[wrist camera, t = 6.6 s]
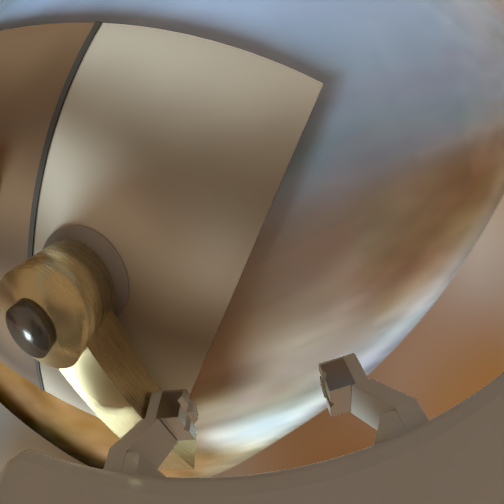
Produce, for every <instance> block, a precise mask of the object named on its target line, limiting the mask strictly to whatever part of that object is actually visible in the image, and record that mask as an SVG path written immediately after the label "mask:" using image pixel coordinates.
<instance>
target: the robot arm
mask: <svg viewBox="0 0 504 504" xmlns="http://www.w3.org/2000/svg"><path fill="white" fill-rule="evenodd" d="M319 372H320V374H321V376H320V382H321V387H322V391H323V394H324V397H325V398H326V400H327V407H328V410H329V413H330V415H331V417H332V416H336V415H339V414H343V413H346V412H350V411H351V412H352V413H353V414H354V415H356V416H357V417H358V418H360V419H361V420H363V421H364V422H366V423H367V424H369V425H370V426H372V427H373V428H375V429H376V430H377V433H376V437H375V441H374V444H373V446H371V447H368V448H365V449H362V450H359V451H356V452H353V453H350V454H347V455H344V456H340V457H337V458H333V459H330V460H326V461H322V462H318V463H314V464H310V465H306V466H301V467H297V468H292V469H286V470H280V471H274V472H268V473H261V474H253V475H244V476H232V477H217V478H171V477H166V476H165V475H164V474H163V473H161V472H160V471H159V470H158V468H159V466H160V465H161V464H162V462H163V461H164V460H165V458H166V457H167V456H168V454H169V453H170V452H171V450H172V449H173V448H174V446H175V445H176V444H177V442H178V441H184V440H195V439H196V430H197V428H196V426H195V425H194V423H195V422H196V421H197V420H198V411H197V407H196V404H195V402H194V401H193V400H192V399H190V398H189V395H190V394H189V393H188V391H187V390H186V389H180V390H164V391H154V392H153V393H152V394H151V398H150V401H149V405H148V408H147V412H146V416H145V419H141V420H140V421H139V422H138V423H137V424H136V425H135V426H134V427H133V428H132V429H130V430H129V431H128V432H127V433H126V434H125V435H124V436H123V437H122V438H121V439H120V440H119V441H117V442H116V443H115V444H114V445H113V446H112V447H111V448H110V449H109V453H108V456H107V459H106V462H105V466H104V469H98V468H93V467H88V466H84V465H79V464H76V463H71V462H68V461H64V460H61V459H58V458H55V457H51V456H48V455H45V454H42V453H39V452H37V451H34V450H31V449H26V450H24V451H23V452H21V453H19V454H18V455H16V456H15V457H13V458H12V459H11V460H9V461H8V462H7V463H6V465H5V466H4V468H3V469H2V471H1V473H0V504H504V372H503V373H502V374H501V375H499V376H498V377H497V378H496V379H494V380H493V381H492V382H490V383H489V384H487V385H486V386H485V387H483V388H482V389H481V390H479V391H478V392H476V393H475V394H473V395H472V396H470V397H469V398H467V399H465V400H464V401H462V402H461V403H459V404H458V405H456V406H454V407H453V408H451V409H449V410H448V411H446V412H444V413H442V414H440V415H439V416H437V417H435V418H433V419H431V420H429V419H428V418H427V416H426V414H425V413H424V411H423V409H422V408H421V406H420V404H419V403H418V401H417V399H415V398H413V397H411V396H409V395H407V394H404V393H402V392H400V391H398V390H396V389H393V388H391V387H389V386H387V385H385V384H382V383H380V382H378V381H376V380H374V379H372V378H371V379H368V378H367V376H366V374H365V372H364V370H363V368H362V366H361V364H360V362H359V361H358V359H357V357H356V355H355V354H354V353H352V354H349V355H346V356H343V357H339V358H336V359H333V360H330V361H326V362H323V363H319Z"/></svg>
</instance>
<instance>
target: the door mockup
mask: <svg viewBox="0 0 504 504" xmlns="http://www.w3.org/2000/svg"><path fill="white" fill-rule="evenodd" d="M323 84H324V83H322V82H320V81H318V80H316V79H314V78H311V77H309V76H307V75H305V74H303V73H301V72H299V71H296V70H294V69H292V68H290V67H287V66H285V65H282V64H280V63H278V62H275V61H273V60H270V59H267V58H265V57H262V56H259V55H257V54H254V53H251V52H248V51H245V50H242V49H239V48H236V47H233V46H230V45H226V44H223V43H220V42H216V41H213V40H209V39H205V38H201V37H197V36H193V35H188V34H184V33H179V32H174V31H169V30H163V29H157V28H151V27H143V26H135V25H126V24H114V23H102V22H95V23H92V22H72V23H51V24H40V25H31V26H23V27H17V28H11V29H6V30H1V31H0V282H1V280H2V278H3V276H4V275H5V274H6V273H8V272H9V271H11V270H12V269H14V268H15V267H17V266H18V265H20V264H21V263H23V262H24V261H26V260H27V259H29V258H30V257H32V256H34V255H35V254H37V253H38V252H40V251H42V250H43V249H45V248H47V247H48V246H50V245H52V244H53V243H55V242H57V241H59V240H63V239H73V240H77V241H80V242H82V243H84V244H86V245H87V246H89V247H90V248H91V249H93V250H94V251H95V252H96V253H97V254H98V255H99V256H100V258H101V259H102V260H103V261H104V263H105V265H106V266H107V268H108V270H109V272H110V274H111V277H112V280H113V284H114V291H115V297H114V304H113V307H112V311H113V313H114V314H115V316H116V318H117V320H118V322H119V323H120V325H121V327H122V329H123V330H124V332H125V334H126V336H127V337H128V339H129V341H130V342H131V344H132V346H133V347H134V349H135V351H136V352H137V354H138V355H139V357H140V358H141V360H142V362H143V363H144V365H145V366H146V368H147V369H148V371H149V372H150V374H151V375H152V377H153V378H154V379H155V381H156V382H157V384H158V385H159V387H160V388H161V389H162V391H164V390H180V389H186V390H187V391H188V393H189V394H190V393H191V391H192V389H193V386H194V384H195V382H196V379H197V377H198V375H199V372H200V370H201V368H202V365H203V363H204V361H205V358H206V356H207V354H208V351H209V349H210V347H211V344H212V342H213V340H214V337H215V335H216V333H217V330H218V328H219V326H220V323H221V321H222V319H223V316H224V314H225V312H226V309H227V307H228V305H229V302H230V300H231V298H232V295H233V293H234V291H235V288H236V286H237V284H238V281H239V279H240V277H241V274H242V272H243V270H244V267H245V265H246V263H247V260H248V258H249V256H250V253H251V251H252V249H253V246H254V244H255V242H256V239H257V237H258V235H259V232H260V230H261V228H262V225H263V223H264V221H265V218H266V216H267V214H268V211H269V209H270V207H271V204H272V202H273V200H274V197H275V195H276V193H277V190H278V188H279V186H280V183H281V181H282V179H283V177H284V174H285V172H286V170H287V167H288V165H289V163H290V160H291V158H292V156H293V153H294V151H295V149H296V146H297V144H298V142H299V139H300V137H301V135H302V132H303V130H304V128H305V125H306V123H307V121H308V118H309V116H310V114H311V112H312V109H313V107H314V105H315V102H316V100H317V98H318V95H319V93H320V91H321V88H322V86H323ZM0 361H1V362H2V363H3V364H5V365H6V366H8V367H9V368H10V369H12V370H13V371H15V372H16V373H18V374H19V375H21V376H22V377H24V378H25V379H27V380H28V381H30V382H32V383H33V384H35V385H36V386H38V387H40V389H41V390H43V391H44V390H45V391H47V392H48V393H50V394H52V395H54V396H56V397H57V398H59V399H61V400H63V401H65V402H67V403H69V404H71V405H73V406H75V407H77V408H79V409H81V410H83V411H85V412H88V413H90V414H92V415H94V416H96V417H98V416H97V414H96V413H95V412H94V411H93V410H92V409H91V408H90V407H89V406H88V404H87V403H86V402H85V401H84V400H83V399H82V397H81V396H80V395H79V394H78V393H77V391H76V390H75V389H74V388H73V386H72V385H71V384H70V383H69V381H68V380H67V379H66V378H65V376H64V375H63V374H62V372H61V371H60V369H58V368H53V367H50V366H47V365H45V364H43V363H41V362H39V361H38V360H36V359H35V358H33V357H32V356H30V355H29V354H27V353H26V352H24V351H23V350H22V349H21V348H20V347H19V346H18V345H17V343H16V342H15V341H14V339H13V338H12V336H11V334H10V332H9V330H8V328H7V325H6V323H5V321H4V318H3V316H2V313H1V309H0ZM189 396H190V395H189Z"/></svg>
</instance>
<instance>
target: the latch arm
mask: <svg viewBox="0 0 504 504" xmlns="http://www.w3.org/2000/svg"><path fill="white" fill-rule="evenodd" d="M114 297H115V291H114V284H113V280H112V277H111V274H110V272H109V270H108V268H107V266H106V265H105V263H104V261H103V260H102V259H101V258H100V256H99V255H98V254H97V253H96V252H95V251H94V250H93V249H91V248H90V247H89V246H87V245H86V244H84V243H82V242H80V241H77V240H73V239H63V240H59V241H57V242H55V243H53V244H52V245H50V246H48V247H47V248H45V249H43V250H42V251H40V252H38V253H37V254H35V255H34V256H32V257H30V258H29V259H27V260H26V261H24V262H23V263H21V264H20V265H18V266H17V267H15V268H14V269H12V270H11V271H9V272H8V273H6V274H5V275H4V276H3V278H2V280H1V282H0V309H1V313H2V316H3V318H4V321H5V323H6V325H7V328H8V330H9V332H10V334H11V336H12V338H13V339H14V341H15V342H16V343H17V345H18V346H19V347H20V348H21V349H22V350H23V351H24V352H26V353H27V354H29V355H30V356H32V357H33V358H35V359H36V360H38V361H39V362H41V363H43V364H45V365H47V366H50V367H53V368H58V369H60V371H61V372H62V374H63V375H64V376H65V378H66V379H67V380H68V381H69V383H70V384H71V385H72V386H73V388H74V389H75V390H76V391H77V393H78V394H79V395H80V396H81V397H82V399H83V400H84V401H85V402H86V403H87V404H88V406H89V407H90V408H91V409H92V410H93V411H94V412H95V413H96V414H97V416H98V417H99V418H100V419H101V420H102V421H103V422H104V423H105V424H106V425H107V426H108V427H109V428H110V429H111V430H112V431H113V432H114V433H115V434H116V435H117V436H118V437H119V438H120V439H121V438H122V437H123V436H124V435H125V434H126V433H127V432H128V431H129V430H130V429H132V428H133V427H134V426H135V425H136V424H137V423H138V422H139V421H140V420H141V419H145V416H146V412H147V408H148V405H149V401H150V398H151V394H152V393H153V392H154V391H162V389H161V388H160V387H159V385H158V384H157V382H156V381H155V379H154V378H153V377H152V375H151V374H150V372H149V371H148V369H147V368H146V366H145V365H144V363H143V362H142V360H141V358H140V357H139V355H138V354H137V352H136V351H135V349H134V347H133V346H132V344H131V342H130V341H129V339H128V337H127V336H126V334H125V332H124V330H123V329H122V327H121V325H120V323H119V322H118V320H117V318H116V316H115V314H114V313H113V311H112V307H113V304H114ZM196 436H197V434H196ZM195 449H196V439H195V440H184V441H178V442H177V444H176V445H175V446H174V448H173V449H172V450H171V452H170V453H169V454H168V456H167V457H166V458H165V460H164V461H163V462H162V464H161V465H160V466H159V468H158V470H191V469H194V462H195Z"/></svg>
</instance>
